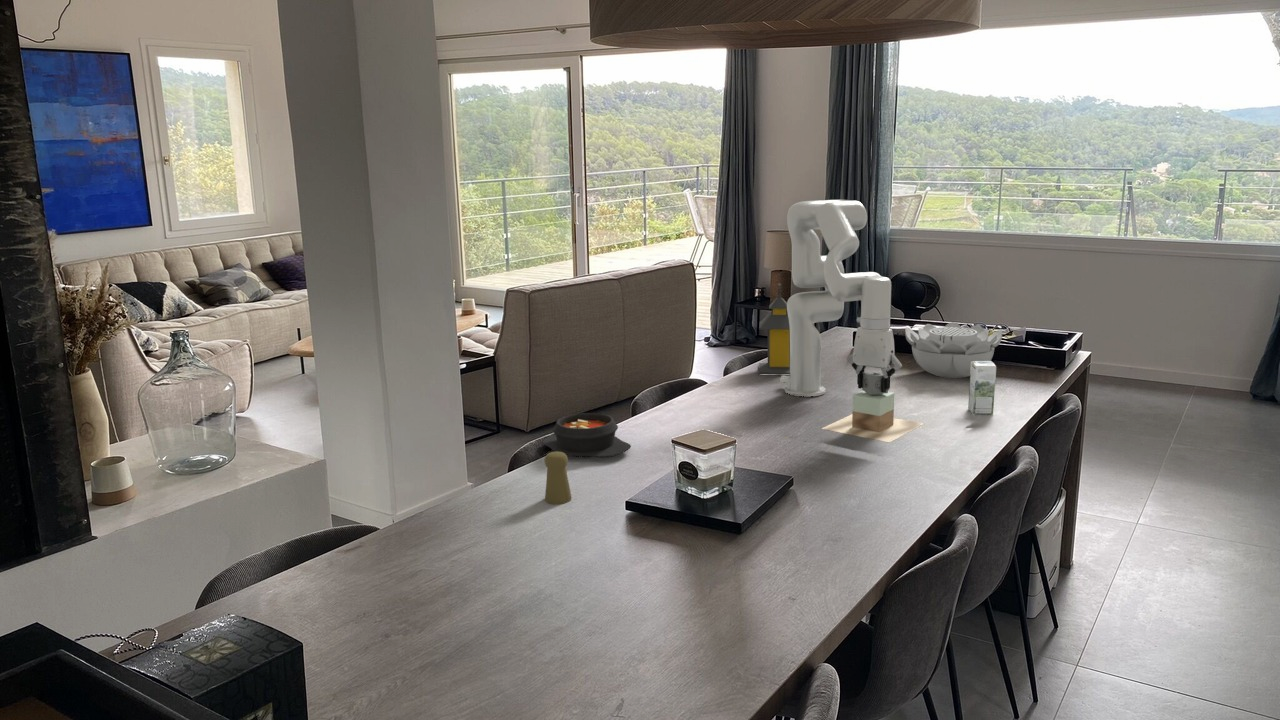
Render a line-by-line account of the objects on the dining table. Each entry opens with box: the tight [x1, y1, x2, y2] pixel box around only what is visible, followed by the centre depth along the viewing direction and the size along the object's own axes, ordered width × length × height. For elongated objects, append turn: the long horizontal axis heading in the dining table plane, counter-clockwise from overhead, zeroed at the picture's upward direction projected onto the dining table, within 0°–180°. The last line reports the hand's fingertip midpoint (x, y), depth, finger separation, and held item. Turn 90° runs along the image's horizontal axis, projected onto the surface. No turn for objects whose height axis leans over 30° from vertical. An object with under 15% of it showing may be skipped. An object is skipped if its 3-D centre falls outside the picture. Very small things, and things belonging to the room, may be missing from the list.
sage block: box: [852, 390, 895, 416], centre depth 253 cm, size 8×8×4 cm
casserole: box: [541, 412, 632, 458], centre depth 245 cm, size 25×19×8 cm
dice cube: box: [861, 370, 889, 395], centre depth 251 cm, size 5×5×5 cm
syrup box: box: [967, 360, 997, 415], centre depth 267 cm, size 6×6×14 cm
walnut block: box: [851, 408, 895, 432], centre depth 254 cm, size 8×8×4 cm
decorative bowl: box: [904, 321, 1003, 379], centre depth 309 cm, size 30×30×15 cm
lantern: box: [758, 283, 790, 375], centre depth 321 cm, size 14×14×30 cm
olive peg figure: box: [544, 451, 572, 505], centre depth 212 cm, size 6×6×11 cm
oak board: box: [821, 413, 925, 443], centre depth 254 cm, size 20×20×2 cm
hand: (873, 388), depth 252 cm, fingers closed on dice cube, 6 cm apart
